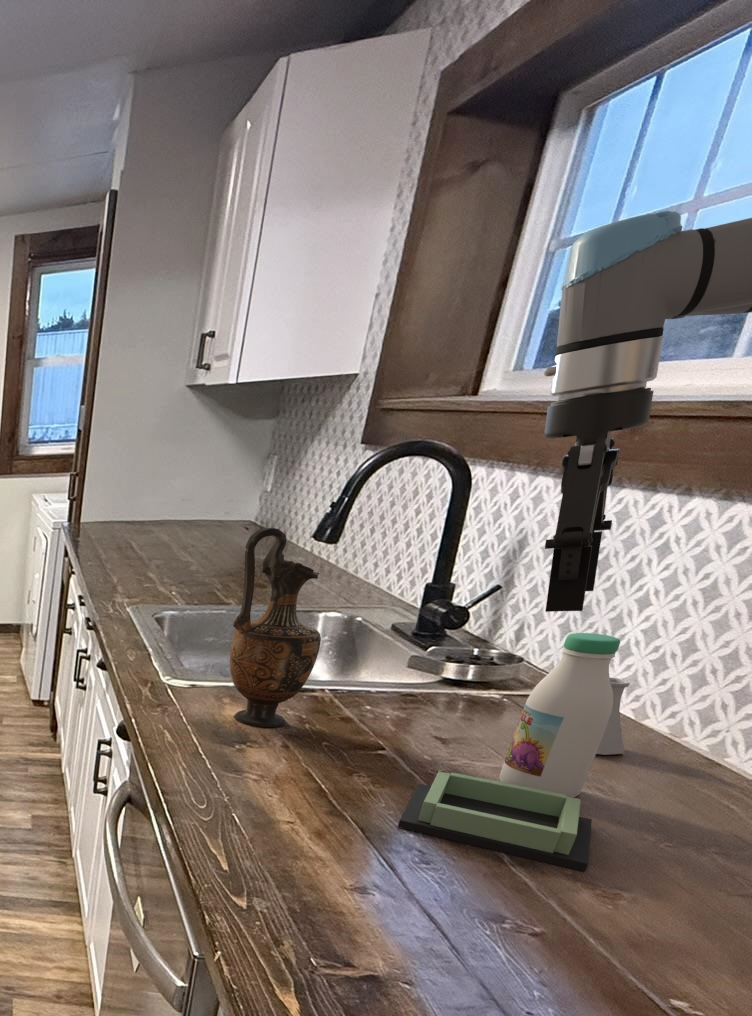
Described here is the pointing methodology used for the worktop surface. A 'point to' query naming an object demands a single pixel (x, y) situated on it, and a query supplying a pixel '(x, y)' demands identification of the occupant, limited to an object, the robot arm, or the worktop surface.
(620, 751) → the flask
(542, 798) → the docking pad
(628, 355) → the robot arm
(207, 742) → the worktop surface
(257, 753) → the worktop surface
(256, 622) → the vase
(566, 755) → the milk bottle
